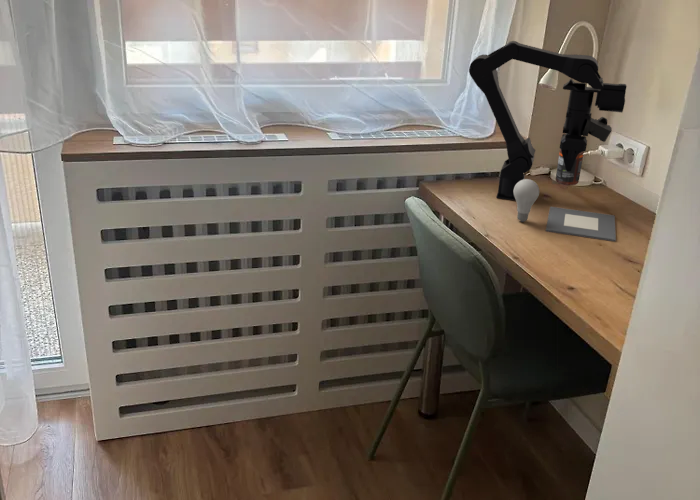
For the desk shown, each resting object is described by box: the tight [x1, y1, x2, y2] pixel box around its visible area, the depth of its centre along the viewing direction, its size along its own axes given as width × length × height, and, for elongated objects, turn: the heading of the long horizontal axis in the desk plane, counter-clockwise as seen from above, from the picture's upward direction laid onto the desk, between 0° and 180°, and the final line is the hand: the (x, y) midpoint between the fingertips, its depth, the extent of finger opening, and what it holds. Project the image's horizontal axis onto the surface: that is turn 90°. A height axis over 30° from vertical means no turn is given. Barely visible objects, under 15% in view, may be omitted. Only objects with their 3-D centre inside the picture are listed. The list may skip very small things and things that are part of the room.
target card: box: [545, 206, 617, 243], centre depth 171 cm, size 16×16×1 cm
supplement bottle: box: [555, 148, 584, 186], centre depth 179 cm, size 6×6×11 cm
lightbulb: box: [513, 178, 540, 223], centre depth 169 cm, size 6×6×11 cm
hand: (569, 167), depth 179 cm, fingers closed on supplement bottle, 6 cm apart
